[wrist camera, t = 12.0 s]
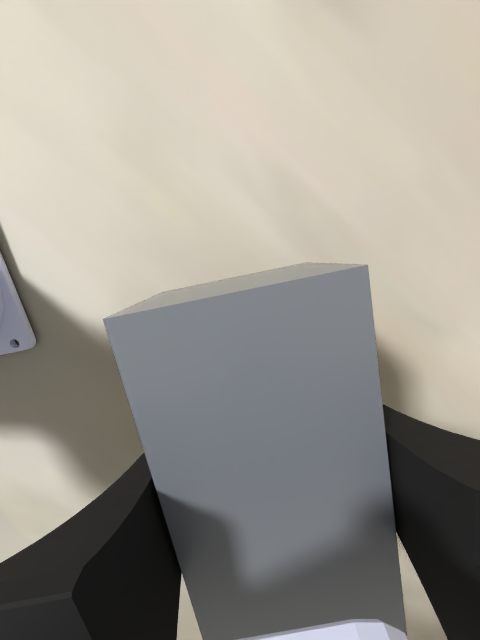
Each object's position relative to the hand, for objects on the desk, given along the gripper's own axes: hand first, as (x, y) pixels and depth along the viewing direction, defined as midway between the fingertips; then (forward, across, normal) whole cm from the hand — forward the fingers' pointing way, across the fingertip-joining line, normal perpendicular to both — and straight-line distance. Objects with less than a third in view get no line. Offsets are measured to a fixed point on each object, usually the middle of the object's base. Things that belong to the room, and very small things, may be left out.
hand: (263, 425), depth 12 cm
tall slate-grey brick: (+2, 0, 0) cm, 2 cm away
